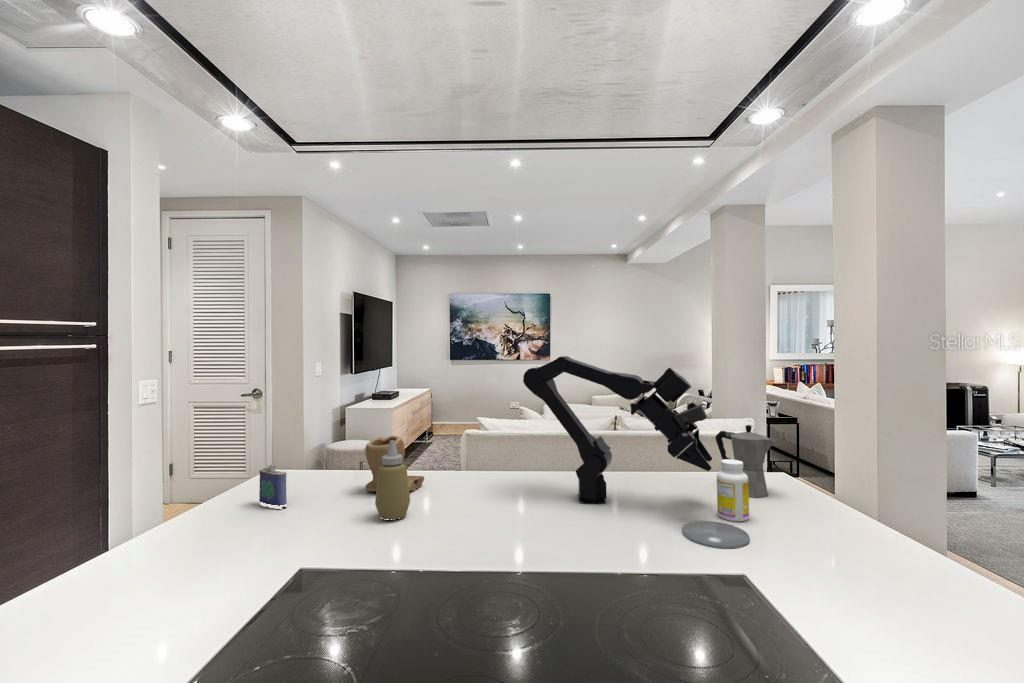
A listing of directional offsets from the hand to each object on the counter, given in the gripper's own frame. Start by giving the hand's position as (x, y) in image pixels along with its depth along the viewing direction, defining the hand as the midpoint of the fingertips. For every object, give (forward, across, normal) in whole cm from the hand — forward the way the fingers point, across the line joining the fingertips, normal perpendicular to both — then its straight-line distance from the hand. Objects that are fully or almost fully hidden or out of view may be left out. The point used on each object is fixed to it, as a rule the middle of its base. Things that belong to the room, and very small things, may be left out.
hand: (710, 464), depth 112 cm
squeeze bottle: (-40, -30, +57) cm, 76 cm away
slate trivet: (+9, -13, +8) cm, 17 cm away
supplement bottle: (+12, 0, +5) cm, 13 cm away
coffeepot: (+14, +22, +3) cm, 26 cm away
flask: (-64, -35, +80) cm, 108 cm away
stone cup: (-50, -13, +66) cm, 83 cm away
